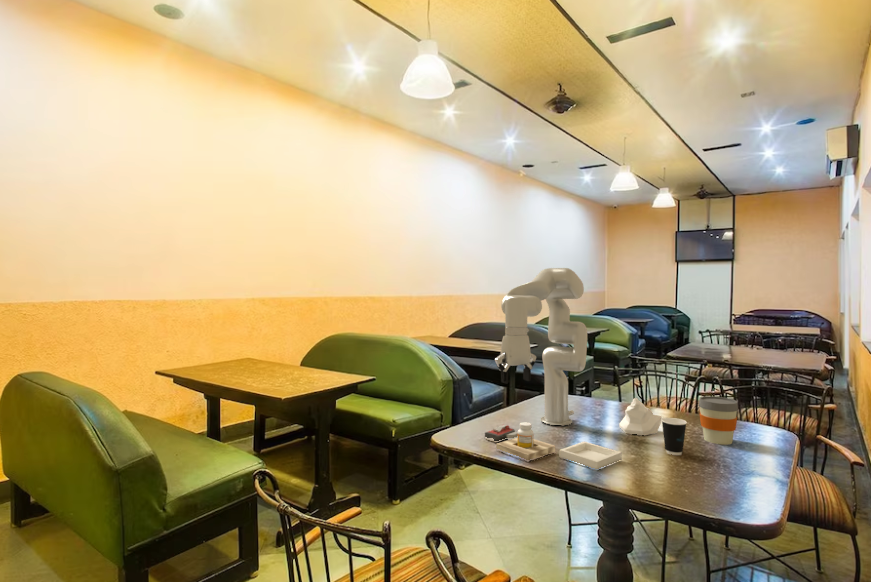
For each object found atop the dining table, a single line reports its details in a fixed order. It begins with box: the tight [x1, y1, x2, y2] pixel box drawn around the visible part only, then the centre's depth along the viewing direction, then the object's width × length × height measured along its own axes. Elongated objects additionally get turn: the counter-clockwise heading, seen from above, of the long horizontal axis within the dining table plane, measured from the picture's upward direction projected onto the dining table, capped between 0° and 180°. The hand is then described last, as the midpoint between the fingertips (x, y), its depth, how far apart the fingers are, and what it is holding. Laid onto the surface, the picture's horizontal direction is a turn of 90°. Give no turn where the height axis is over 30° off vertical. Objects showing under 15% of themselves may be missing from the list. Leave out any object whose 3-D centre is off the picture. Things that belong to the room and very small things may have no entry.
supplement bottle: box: [517, 421, 535, 449], centre depth 163 cm, size 5×5×10 cm
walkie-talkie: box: [484, 423, 518, 441], centre depth 181 cm, size 9×4×20 cm
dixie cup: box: [661, 417, 688, 456], centre depth 163 cm, size 8×8×11 cm
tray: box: [558, 441, 623, 469], centre depth 156 cm, size 14×14×3 cm
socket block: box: [495, 438, 556, 460], centre depth 163 cm, size 14×14×2 cm
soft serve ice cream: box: [618, 397, 662, 436], centre depth 186 cm, size 12×15×14 cm
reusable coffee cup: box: [698, 395, 739, 445], centre depth 176 cm, size 13×13×15 cm
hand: (515, 381), depth 164 cm, fingers open, 9 cm apart
